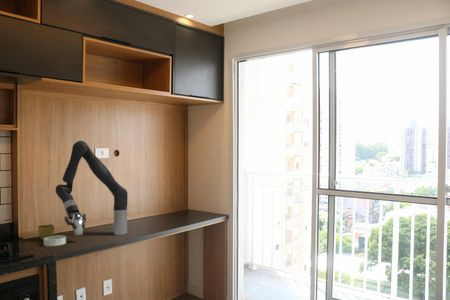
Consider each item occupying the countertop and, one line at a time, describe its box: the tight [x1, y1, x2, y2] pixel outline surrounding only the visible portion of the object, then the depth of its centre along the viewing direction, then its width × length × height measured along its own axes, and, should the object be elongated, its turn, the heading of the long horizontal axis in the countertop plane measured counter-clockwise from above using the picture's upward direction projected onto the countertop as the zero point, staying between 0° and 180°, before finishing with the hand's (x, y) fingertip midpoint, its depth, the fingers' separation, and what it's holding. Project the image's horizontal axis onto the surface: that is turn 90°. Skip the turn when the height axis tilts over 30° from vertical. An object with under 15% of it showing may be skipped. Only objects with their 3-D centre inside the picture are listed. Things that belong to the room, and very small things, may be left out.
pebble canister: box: [73, 217, 84, 236], centre depth 239 cm, size 5×5×10 cm
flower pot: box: [37, 224, 55, 241], centre depth 248 cm, size 9×9×9 cm
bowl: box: [43, 234, 67, 247], centre depth 234 cm, size 13×13×4 cm
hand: (79, 228), depth 238 cm, fingers closed on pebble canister, 5 cm apart
